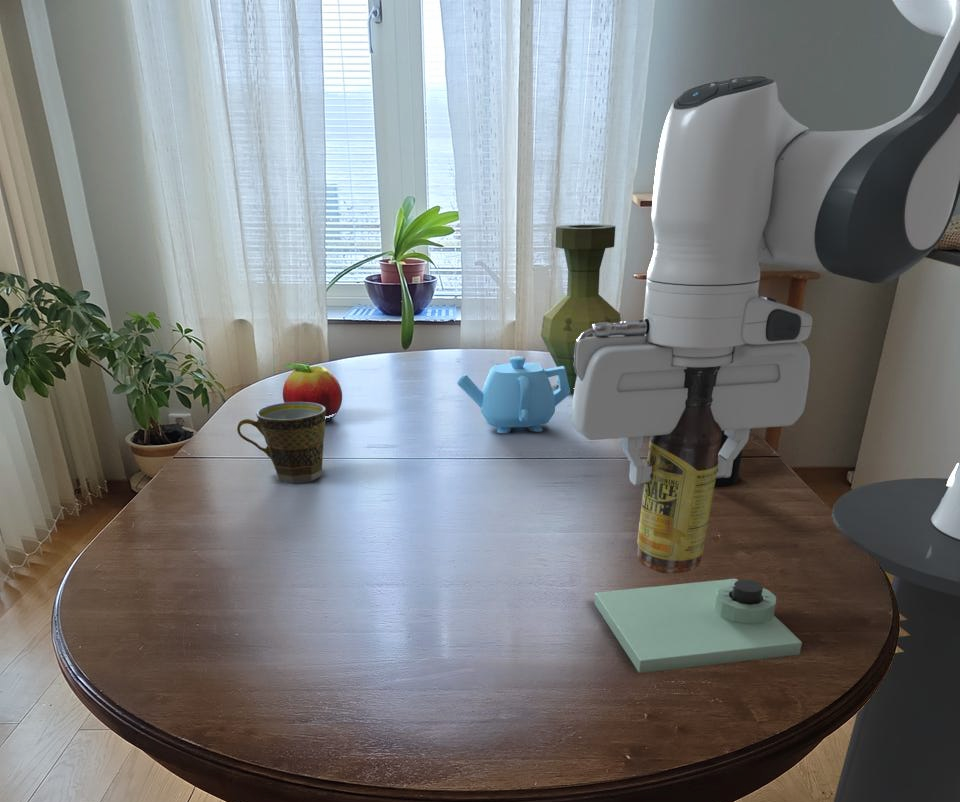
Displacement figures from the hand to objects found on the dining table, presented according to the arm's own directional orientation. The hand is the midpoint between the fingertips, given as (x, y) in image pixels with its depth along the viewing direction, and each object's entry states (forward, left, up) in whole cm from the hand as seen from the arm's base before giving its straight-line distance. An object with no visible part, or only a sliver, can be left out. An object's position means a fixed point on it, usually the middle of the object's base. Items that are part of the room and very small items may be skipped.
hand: (680, 479), depth 74 cm
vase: (-20, -99, -16) cm, 102 cm away
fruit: (+34, -88, -16) cm, 96 cm away
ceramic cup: (+38, -56, -16) cm, 70 cm away
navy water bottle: (-24, -41, -16) cm, 50 cm away
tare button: (-8, 0, -13) cm, 16 cm away
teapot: (-1, -75, -16) cm, 77 cm away
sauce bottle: (0, 0, -9) cm, 9 cm away
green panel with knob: (-3, 0, -16) cm, 16 cm away
